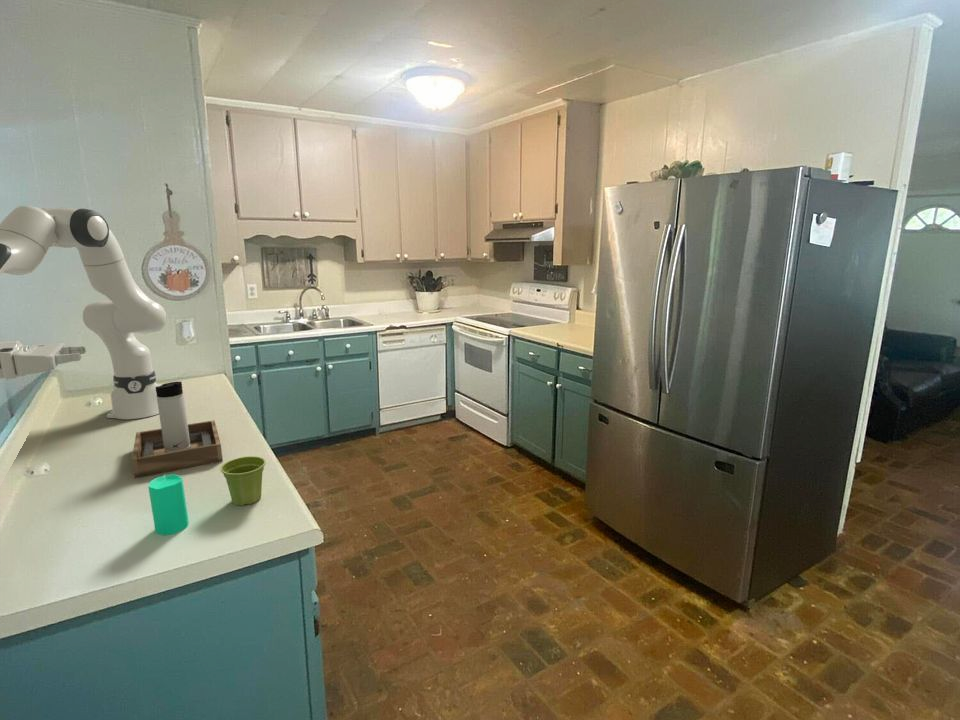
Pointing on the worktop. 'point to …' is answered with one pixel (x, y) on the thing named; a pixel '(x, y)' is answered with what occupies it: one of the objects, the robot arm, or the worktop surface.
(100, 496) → the worktop surface
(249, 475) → the plant pot
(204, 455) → the open box
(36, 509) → the worktop surface
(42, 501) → the worktop surface
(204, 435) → the plate
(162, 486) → the candle
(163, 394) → the travel mug
